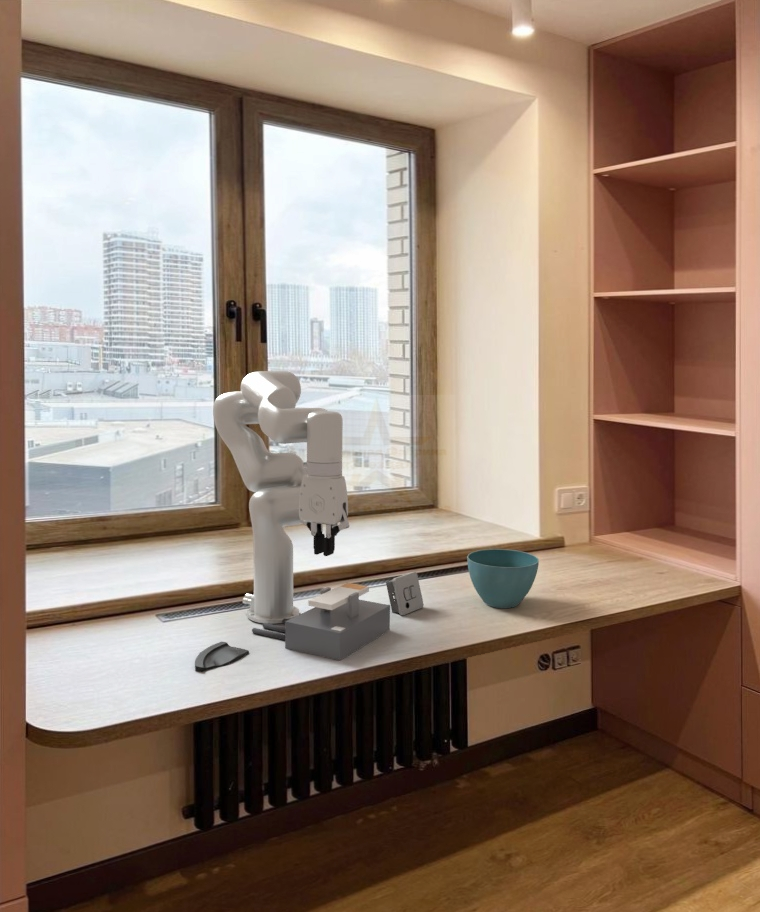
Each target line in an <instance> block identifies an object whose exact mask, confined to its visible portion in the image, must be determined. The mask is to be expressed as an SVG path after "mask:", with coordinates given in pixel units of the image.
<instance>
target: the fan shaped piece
mask: <svg viewBox="0 0 760 912" xmlns="http://www.w3.org/2000/svg"><path fill="white" fill-rule="evenodd" d="M249 654H250V650H249V649H245V648H241V647H235V646H231V645H229V644H228V642H227V641H219V642H216V643H214V644H212V645H210V646H208V647H207V648H205V649H203V650H202V651H201V652H200V653H198V655H197V656H196V658H195V660H194V668H195V672H198V673H203V672H206V671H209V670H212V669H215V668H221V667H225V666H228V665H231V664H233V663H235V662H237V661H239V660H240V659H243V658H244V657H246V656H247V655H249Z"/></svg>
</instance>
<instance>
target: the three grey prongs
mask: <svg viewBox="0 0 760 912" xmlns="http://www.w3.org/2000/svg"><path fill="white" fill-rule="evenodd" d="M287 620H289V619H283V620H282V623H281V624H284V625H285V621H287ZM262 628H263V629H261V628H257V627H253V628H252V629H251V633H252V634H256V635H260V636H265V637H270V638H274V639H278V640H282V641H285V626H282V625H281V626H280V625H277V624H268V623H262ZM265 629H266V630H265ZM270 630H271V631H270ZM275 631H277V632H275ZM283 633H284V634H283Z"/></svg>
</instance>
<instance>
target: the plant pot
mask: <svg viewBox="0 0 760 912" xmlns="http://www.w3.org/2000/svg"><path fill="white" fill-rule="evenodd" d="M466 560H467V569H468V574H469V577H470V581H471V582H472V585H473V588H474V589H475V591H476V593H477V594H478V595H479V597H480V599H481V600H482V601H483V602H484V603H485V605H487V606H489V607H492V608H497V609H511V607H512V608H515V607H517V606H518V605H519V604H520V603H521V602H522V601H523V600H524V599H525V597H526V596H527V595H528V594H529V592H530V590H531V588H532V587H533V585H534V582H535V580H536V576H537V573H538V570H539V562H540V559H539V558H538V557H537V556H536V555H534V554H531V553H529V552H525V551H520V550H516V549H507V548H506V549H504V548H492V549H491V548H490V549H489V548H488V549H479V550H476V551H475V550H474V551H472V552H470V553H468V555H467V557H466Z"/></svg>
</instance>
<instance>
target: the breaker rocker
mask: <svg viewBox="0 0 760 912" xmlns="http://www.w3.org/2000/svg"><path fill="white" fill-rule="evenodd" d="M355 592H358V593H359V597H361V596H363V595H365V594H367V593H369V592H370V586H367V585H362V584H356V583H351V582H345V583H343V584H341V585H338V586H337V587H334V588H331V590H330V591H328V592H325V593H323V594H321V593H320V594H319V595H316V596H315V597H313V598H311V599H308V601H307V605H308V606H309V607H313V608H314V607H317V608H322V609H328V610H333V609H335V608H337V607H339V606H341V605H343V604H345V603H347V602H349V595H351V594H353V593H355Z"/></svg>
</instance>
